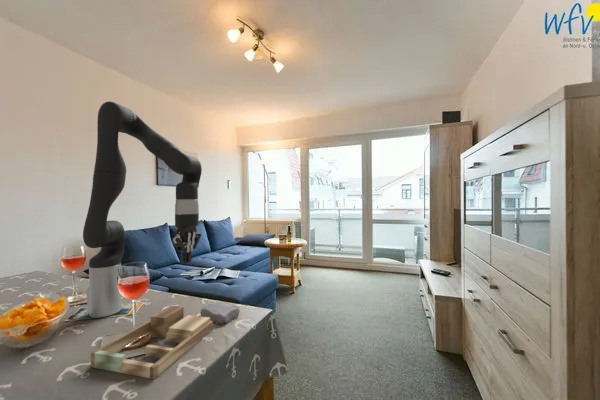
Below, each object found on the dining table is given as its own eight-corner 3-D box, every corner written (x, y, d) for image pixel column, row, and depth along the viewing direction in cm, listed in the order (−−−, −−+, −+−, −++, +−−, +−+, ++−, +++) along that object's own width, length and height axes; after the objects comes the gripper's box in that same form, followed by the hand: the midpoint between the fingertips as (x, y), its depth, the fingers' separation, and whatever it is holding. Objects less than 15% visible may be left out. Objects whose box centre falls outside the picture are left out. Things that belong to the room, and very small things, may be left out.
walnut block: (150, 336, 75) (150, 316, 75) (170, 324, 83) (170, 305, 83) (164, 338, 74) (164, 318, 74) (183, 325, 81) (183, 307, 81)
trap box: (90, 367, 61) (90, 352, 61) (163, 322, 83) (163, 312, 83) (154, 379, 56) (154, 363, 57) (212, 329, 79) (212, 317, 79)
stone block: (218, 313, 95) (197, 318, 86) (220, 299, 96) (199, 303, 87) (242, 321, 89) (222, 327, 81) (245, 306, 90) (225, 311, 81)
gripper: (190, 212, 95) (190, 258, 94) (163, 213, 82) (163, 267, 81) (207, 212, 93) (208, 259, 93) (183, 213, 80) (183, 268, 80)
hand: (187, 262), depth 87 cm, fingers closed
